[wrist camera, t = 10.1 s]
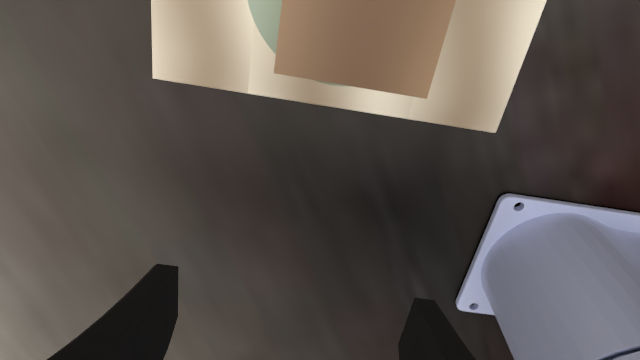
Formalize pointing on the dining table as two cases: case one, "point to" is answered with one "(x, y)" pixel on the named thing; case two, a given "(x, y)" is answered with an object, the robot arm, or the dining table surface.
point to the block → (364, 42)
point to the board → (259, 79)
